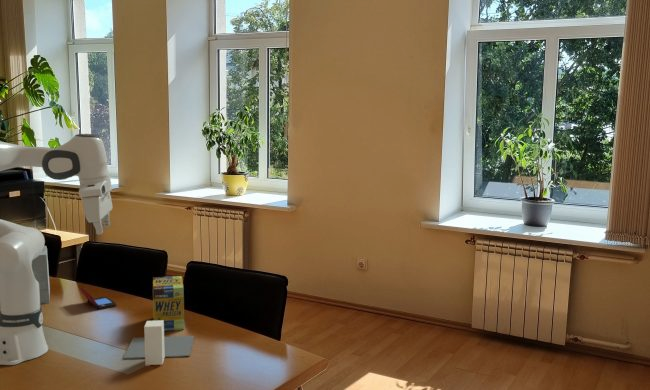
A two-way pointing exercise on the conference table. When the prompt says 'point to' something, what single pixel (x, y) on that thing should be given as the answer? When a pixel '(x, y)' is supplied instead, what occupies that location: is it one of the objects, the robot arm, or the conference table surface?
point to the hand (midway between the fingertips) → (103, 230)
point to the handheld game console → (99, 301)
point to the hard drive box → (42, 275)
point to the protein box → (169, 302)
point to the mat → (171, 346)
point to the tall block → (154, 342)
